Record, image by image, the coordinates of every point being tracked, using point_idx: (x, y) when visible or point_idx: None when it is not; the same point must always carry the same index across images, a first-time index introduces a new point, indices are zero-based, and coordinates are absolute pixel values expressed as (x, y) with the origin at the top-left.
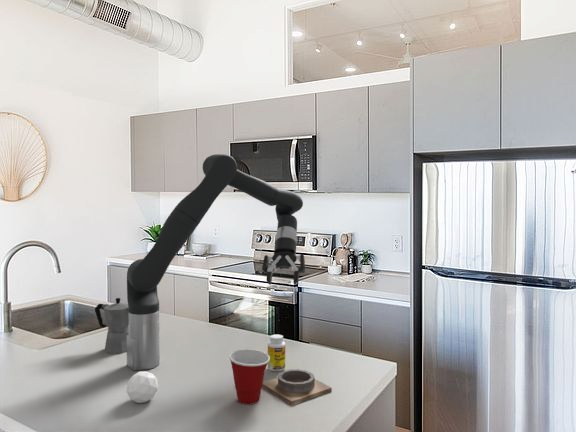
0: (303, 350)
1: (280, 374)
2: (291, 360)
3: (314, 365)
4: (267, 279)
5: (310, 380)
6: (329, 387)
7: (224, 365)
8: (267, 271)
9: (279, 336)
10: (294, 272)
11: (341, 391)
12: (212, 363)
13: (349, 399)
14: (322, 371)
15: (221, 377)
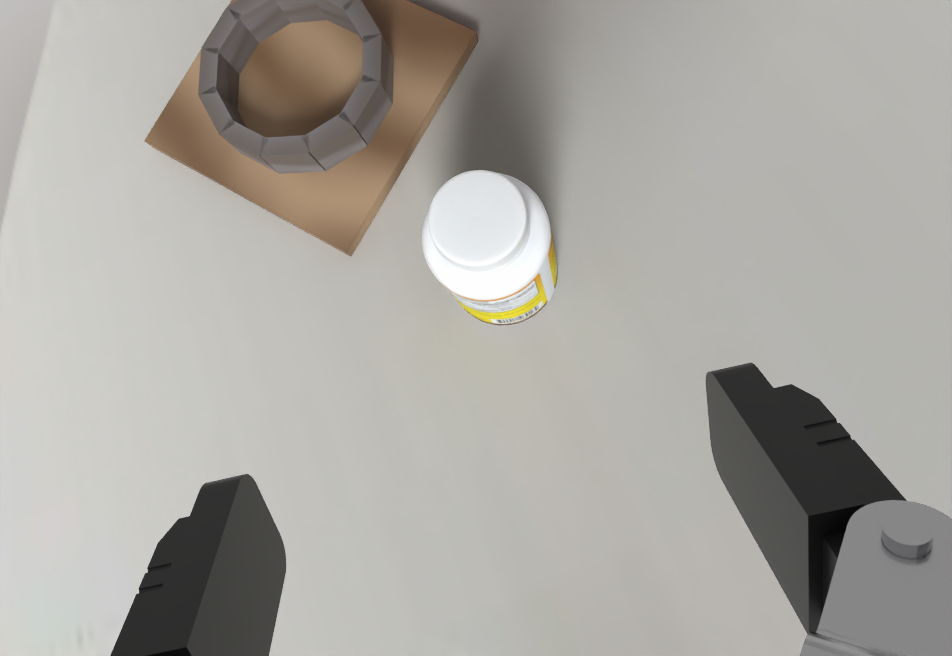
0: (467, 648)
1: (373, 48)
2: (472, 434)
3: (317, 416)
4: (797, 405)
5: (208, 54)
6: (153, 137)
7: (821, 181)
8: (926, 517)
9: (455, 222)
10: (179, 625)
11: (113, 166)
12: (913, 175)
13: (68, 109)
14: (252, 351)
15: (730, 35)
